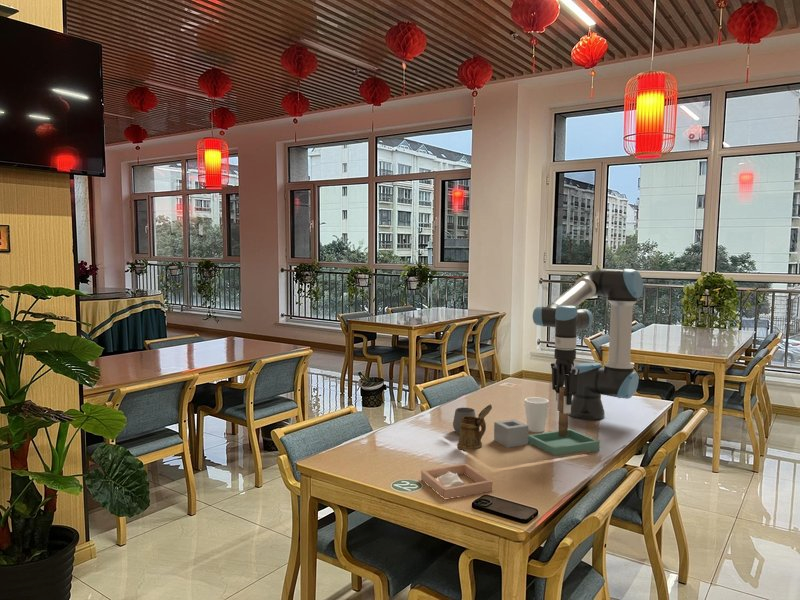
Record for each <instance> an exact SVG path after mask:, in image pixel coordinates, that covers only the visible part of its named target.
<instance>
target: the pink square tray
mask: <svg viewBox="0 0 800 600" xmlns="http://www.w3.org/2000/svg"><path fill="white" fill-rule="evenodd" d="M420 472H421V473H420V478H421V479H422V480H423V481H424V482H426V483H427V484H428V485H429V486H431V487H432V488H433V489H434V490H435V491H437V492H438V493H439V494H440V495H441V496H443V497H444V498H451V497H457V496H464V495H469V496H472V495H471V494H474V495H478V494H477V493H480V494H484V493H483V492H485V493H489V491H490V492H493V483H494V482H493V480H492V479H490V478H489V477H487V476H486V475H485V474H483V473H481V472H480V471H479V470H477V469H476V468H474V467H472V466H471V465H470V464H468V463H466V462H464V463H458V464H452V465H447V466H440V467H434V468H429V469H422V470H420ZM447 472H451V473H454V474H456V473H457V474H461V475H465V474H466V475H465V476H467V475H468V476H469V477H468V476H467V477H468V478H470V477H471V478H472V479H473V481H474V480H475V481H476V482H475V481H474V482H472V483H467V484H465V483H464V485H460V486H454V487H449V488H446V487H445V486H443V485H442V484H441V483H440V482H438V481H437V480H436V479H435V478H437V477H440V476H441V475H445V474H446V473H447ZM463 473H465V474H463ZM471 478H470V479H471ZM472 479H471V480H472ZM422 480H421V481H422ZM423 481H422V482H423ZM424 482H423V483H424ZM429 486H428V487H429ZM435 491H434V492H435ZM464 497H465V496H464ZM444 498H443V499H444Z"/></svg>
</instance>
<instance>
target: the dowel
mask: <svg viewBox="0 0 800 600" xmlns="http://www.w3.org/2000/svg"><path fill="white" fill-rule="evenodd" d="M564 395H565V386H563V387H560V393H559V411H558V430H557V431H558V436H560V437H567V432H568V429H569V428H568V426H569V425H568V423H569V413H566V414H564V413H563V408H564Z"/></svg>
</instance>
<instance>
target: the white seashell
mask: <svg viewBox="0 0 800 600" xmlns="http://www.w3.org/2000/svg"><path fill="white" fill-rule="evenodd" d="M436 480H437V481H438V482H440V483H441V484H442V485H443V486H445V487H446V488H449V487H454V486H460V485H465V482H464V481H463V480H462V479H461V478H460V477H459V475H457V473H456V474H454V473H451V472H447V473H446V474H445V475H441V476H440V477H438V478H436Z"/></svg>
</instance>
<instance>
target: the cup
mask: <svg viewBox="0 0 800 600" xmlns="http://www.w3.org/2000/svg"><path fill="white" fill-rule="evenodd" d="M464 416H474V417H477V415H476V410H475V409H474V408H473V407H472V408H471V407H458V408H455V411H454V417H453V422H452V427H453V430H454V431H455V433H456V435H460V428H461V426H460V423H461V421H462V417H464Z"/></svg>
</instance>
